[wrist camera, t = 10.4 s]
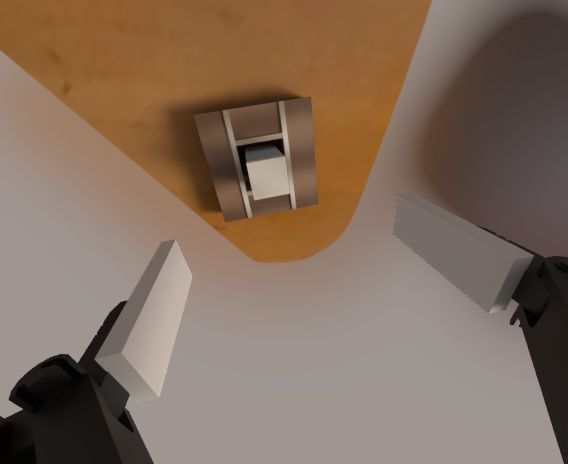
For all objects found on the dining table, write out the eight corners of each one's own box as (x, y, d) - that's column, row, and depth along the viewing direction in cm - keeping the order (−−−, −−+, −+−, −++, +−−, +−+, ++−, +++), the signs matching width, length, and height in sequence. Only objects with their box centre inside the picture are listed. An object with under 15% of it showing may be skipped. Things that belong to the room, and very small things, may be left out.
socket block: (197, 114, 29) (192, 115, 26) (303, 97, 30) (311, 96, 27) (226, 212, 36) (225, 223, 33) (311, 196, 37) (318, 204, 34)
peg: (244, 148, 32) (246, 163, 23) (272, 143, 32) (285, 156, 23) (250, 176, 34) (254, 200, 25) (277, 171, 34) (290, 193, 25)
